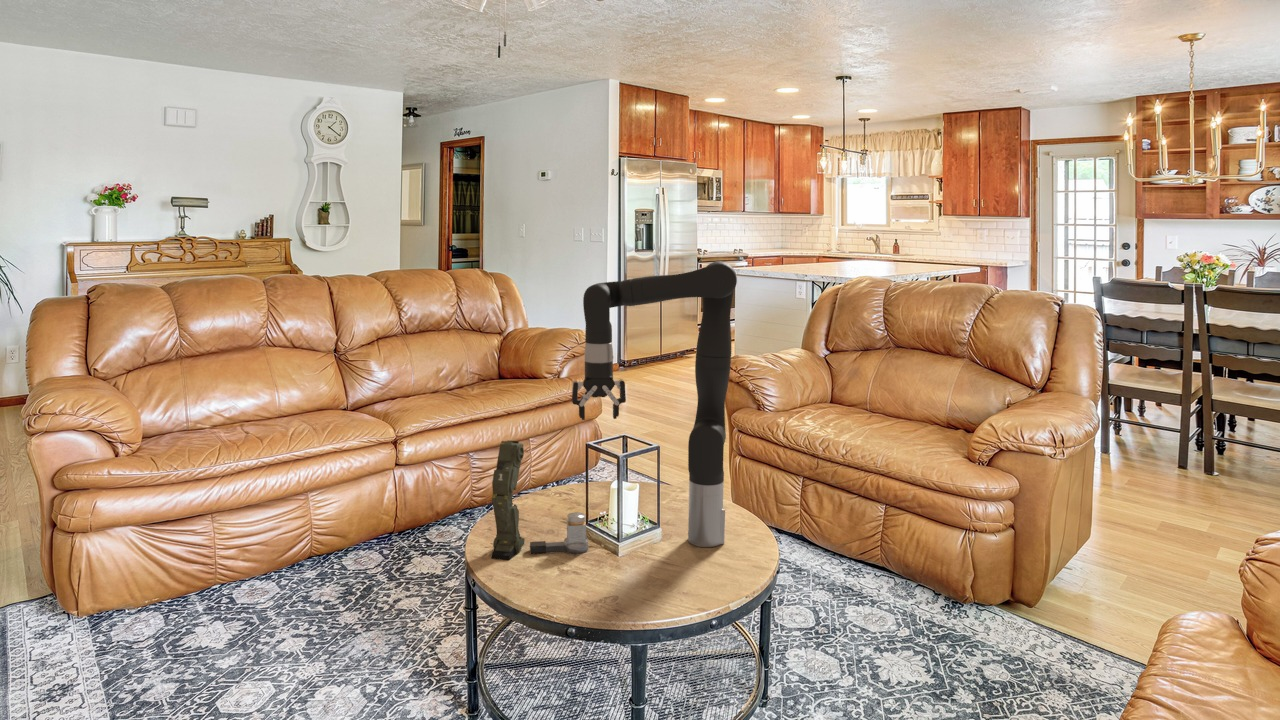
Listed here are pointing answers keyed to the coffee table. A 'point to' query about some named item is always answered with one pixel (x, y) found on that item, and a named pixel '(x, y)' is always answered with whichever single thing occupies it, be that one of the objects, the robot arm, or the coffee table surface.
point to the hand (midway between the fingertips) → (598, 418)
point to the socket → (576, 528)
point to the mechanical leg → (506, 501)
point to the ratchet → (558, 547)
